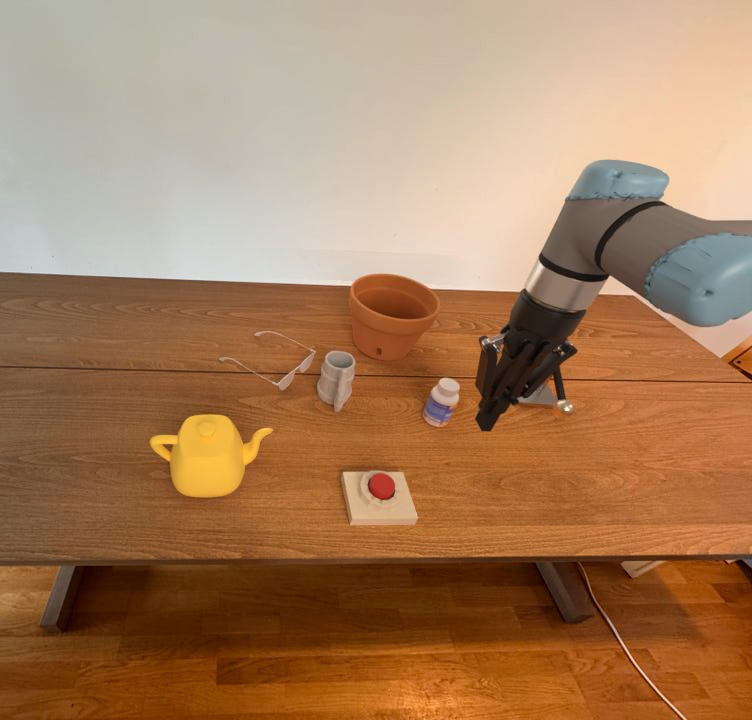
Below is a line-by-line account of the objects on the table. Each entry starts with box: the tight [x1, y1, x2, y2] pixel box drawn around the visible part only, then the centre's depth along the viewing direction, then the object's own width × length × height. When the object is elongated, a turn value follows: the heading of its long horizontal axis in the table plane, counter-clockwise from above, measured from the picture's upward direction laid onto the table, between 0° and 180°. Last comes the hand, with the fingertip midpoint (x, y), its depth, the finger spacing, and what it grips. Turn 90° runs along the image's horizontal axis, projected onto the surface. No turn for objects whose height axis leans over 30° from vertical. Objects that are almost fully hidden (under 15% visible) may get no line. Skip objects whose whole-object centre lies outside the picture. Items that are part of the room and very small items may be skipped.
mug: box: [316, 350, 356, 413], centre depth 88 cm, size 8×12×12 cm, turn 178°
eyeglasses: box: [218, 330, 317, 391], centre depth 99 cm, size 15×18×4 cm
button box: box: [340, 470, 419, 526], centre depth 72 cm, size 11×9×4 cm
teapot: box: [149, 414, 274, 499], centre depth 71 cm, size 13×20×12 cm
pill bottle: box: [422, 377, 461, 428], centre depth 86 cm, size 5×5×10 cm
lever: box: [552, 365, 575, 418], centre depth 87 cm, size 17×4×4 cm, turn 177°
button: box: [369, 473, 395, 499], centre depth 70 cm, size 4×4×2 cm
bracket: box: [512, 373, 558, 410], centre depth 93 cm, size 12×10×15 cm
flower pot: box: [348, 273, 442, 362], centre depth 104 cm, size 21×21×15 cm
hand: (482, 424), depth 67 cm, fingers closed
